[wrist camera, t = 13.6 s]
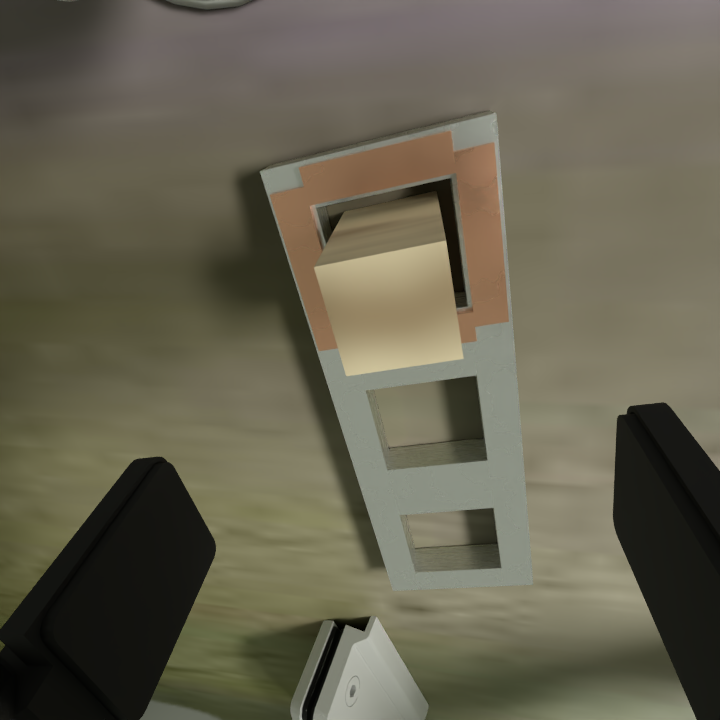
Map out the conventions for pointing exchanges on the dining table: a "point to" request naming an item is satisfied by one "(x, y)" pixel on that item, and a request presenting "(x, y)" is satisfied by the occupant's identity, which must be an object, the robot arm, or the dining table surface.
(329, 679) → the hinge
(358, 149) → the rail
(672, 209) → the dining table surface
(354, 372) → the peg
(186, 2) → the chalice
